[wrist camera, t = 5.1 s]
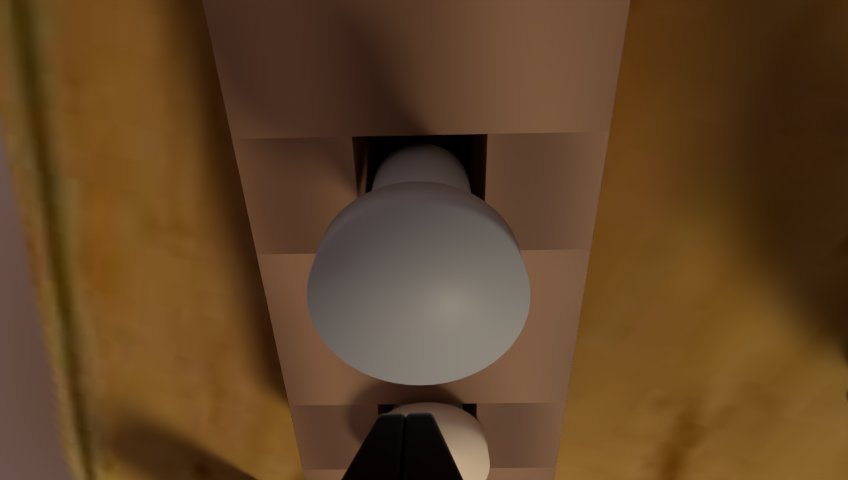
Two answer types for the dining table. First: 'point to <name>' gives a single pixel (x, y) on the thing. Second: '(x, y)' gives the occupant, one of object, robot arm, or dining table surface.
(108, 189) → the dining table surface
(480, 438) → the cream peg
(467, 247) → the grey peg
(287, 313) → the walnut block
